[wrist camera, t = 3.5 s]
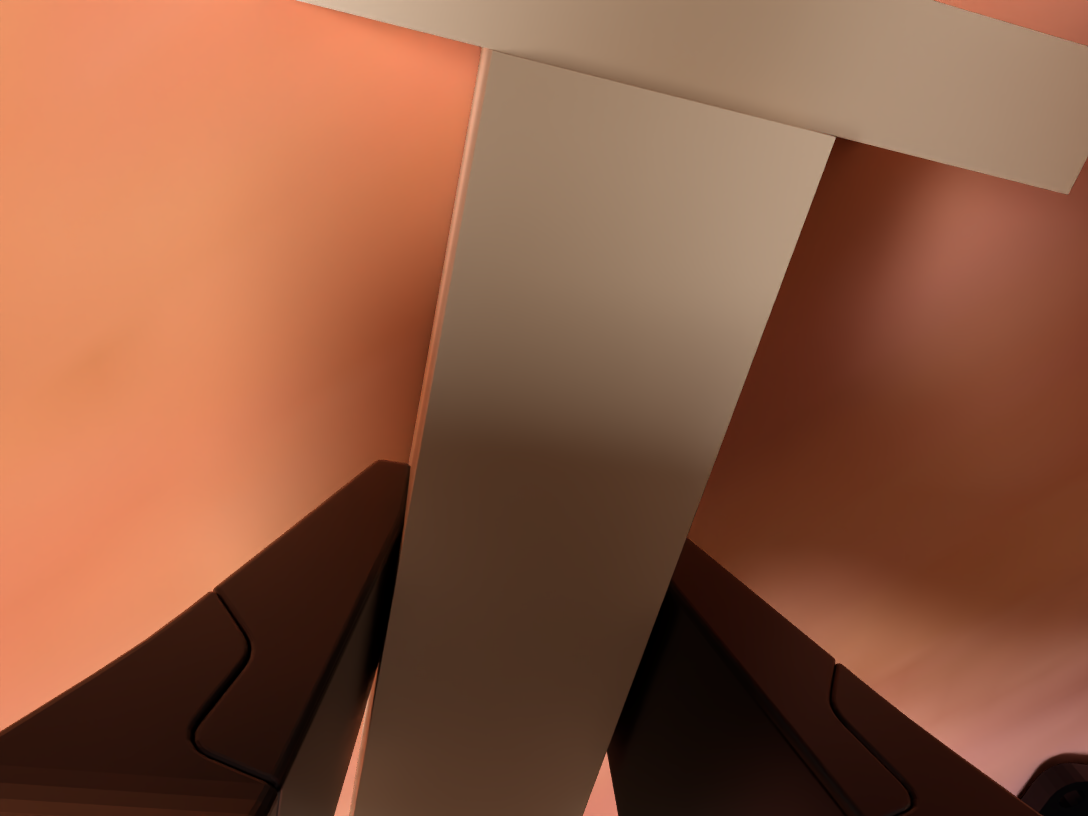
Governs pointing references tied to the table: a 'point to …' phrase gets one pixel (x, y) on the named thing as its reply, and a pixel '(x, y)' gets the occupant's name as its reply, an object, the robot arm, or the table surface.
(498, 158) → the pusher
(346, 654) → the robot arm
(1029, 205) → the table surface
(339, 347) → the table surface
